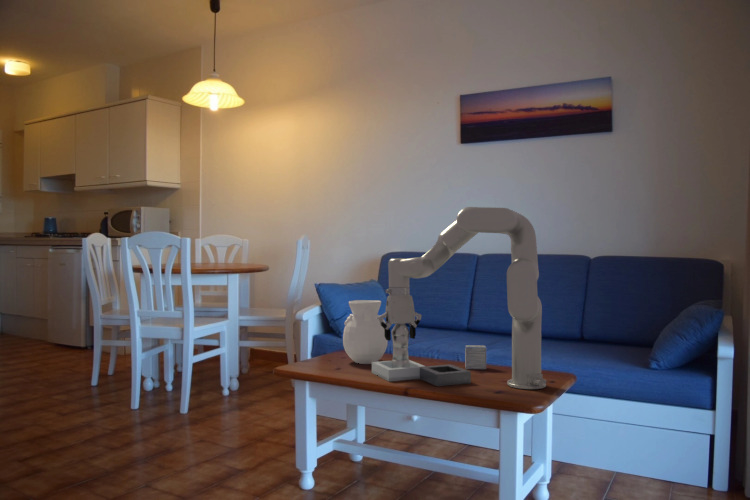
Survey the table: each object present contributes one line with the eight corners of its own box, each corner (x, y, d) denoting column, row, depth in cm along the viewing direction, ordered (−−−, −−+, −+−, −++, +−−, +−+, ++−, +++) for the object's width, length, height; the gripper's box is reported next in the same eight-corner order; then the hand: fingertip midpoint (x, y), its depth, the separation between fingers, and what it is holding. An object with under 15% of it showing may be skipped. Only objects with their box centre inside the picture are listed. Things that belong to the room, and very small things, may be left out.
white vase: (342, 358, 246) (342, 299, 246) (385, 357, 247) (385, 299, 247) (343, 366, 227) (343, 303, 227) (390, 366, 229) (390, 302, 229)
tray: (427, 378, 206) (427, 366, 206) (388, 381, 201) (388, 369, 201) (408, 369, 221) (408, 359, 221) (371, 372, 216) (371, 362, 216)
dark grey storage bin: (470, 383, 198) (470, 371, 198) (437, 386, 193) (437, 374, 193) (450, 375, 211) (450, 364, 211) (418, 378, 206) (418, 366, 206)
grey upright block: (485, 367, 226) (485, 345, 226) (486, 369, 222) (486, 347, 222) (465, 367, 227) (464, 345, 227) (465, 369, 222) (465, 346, 222)
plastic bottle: (410, 374, 208) (410, 318, 208) (391, 374, 208) (391, 318, 208) (409, 370, 214) (409, 316, 215) (390, 370, 214) (390, 316, 214)
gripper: (381, 293, 204) (382, 342, 204) (425, 291, 211) (426, 338, 211) (373, 292, 211) (374, 339, 211) (416, 290, 218) (417, 336, 218)
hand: (400, 339), depth 211 cm, fingers open, 9 cm apart
